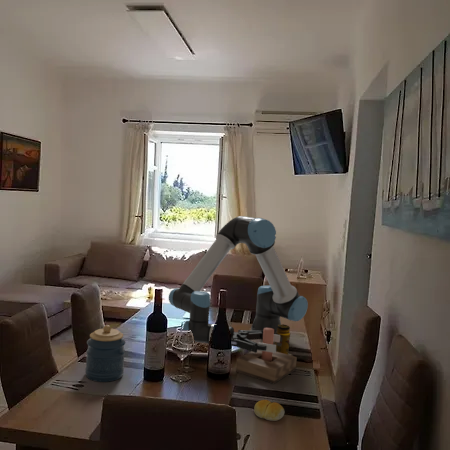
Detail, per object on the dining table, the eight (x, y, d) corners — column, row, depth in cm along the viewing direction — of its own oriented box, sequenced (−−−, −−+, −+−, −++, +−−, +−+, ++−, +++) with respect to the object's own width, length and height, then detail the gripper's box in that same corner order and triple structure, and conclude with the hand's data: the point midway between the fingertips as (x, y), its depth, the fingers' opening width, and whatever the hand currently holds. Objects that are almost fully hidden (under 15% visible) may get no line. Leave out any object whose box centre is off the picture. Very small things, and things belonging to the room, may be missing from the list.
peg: (264, 364, 181) (266, 327, 180) (273, 367, 179) (276, 329, 177) (259, 368, 178) (261, 329, 176) (268, 370, 176) (271, 331, 174)
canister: (89, 384, 155) (92, 332, 153) (81, 370, 166) (84, 321, 165) (128, 380, 161) (131, 329, 159) (118, 366, 172) (121, 318, 171)
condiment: (292, 355, 198) (295, 327, 197) (277, 358, 193) (279, 329, 192) (281, 349, 204) (283, 322, 203) (266, 352, 199) (268, 324, 198)
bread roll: (261, 405, 149) (262, 393, 149) (286, 414, 144) (288, 401, 144) (248, 415, 142) (249, 402, 142) (275, 424, 137) (276, 411, 137)
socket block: (259, 359, 190) (260, 347, 190) (295, 369, 181) (296, 357, 181) (235, 371, 175) (236, 358, 175) (274, 383, 166) (275, 370, 166)
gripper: (228, 336, 194) (280, 343, 189) (213, 355, 170) (272, 364, 165) (230, 318, 193) (282, 325, 188) (215, 334, 169) (274, 343, 165)
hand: (278, 343), depth 177 cm, fingers open, 12 cm apart
